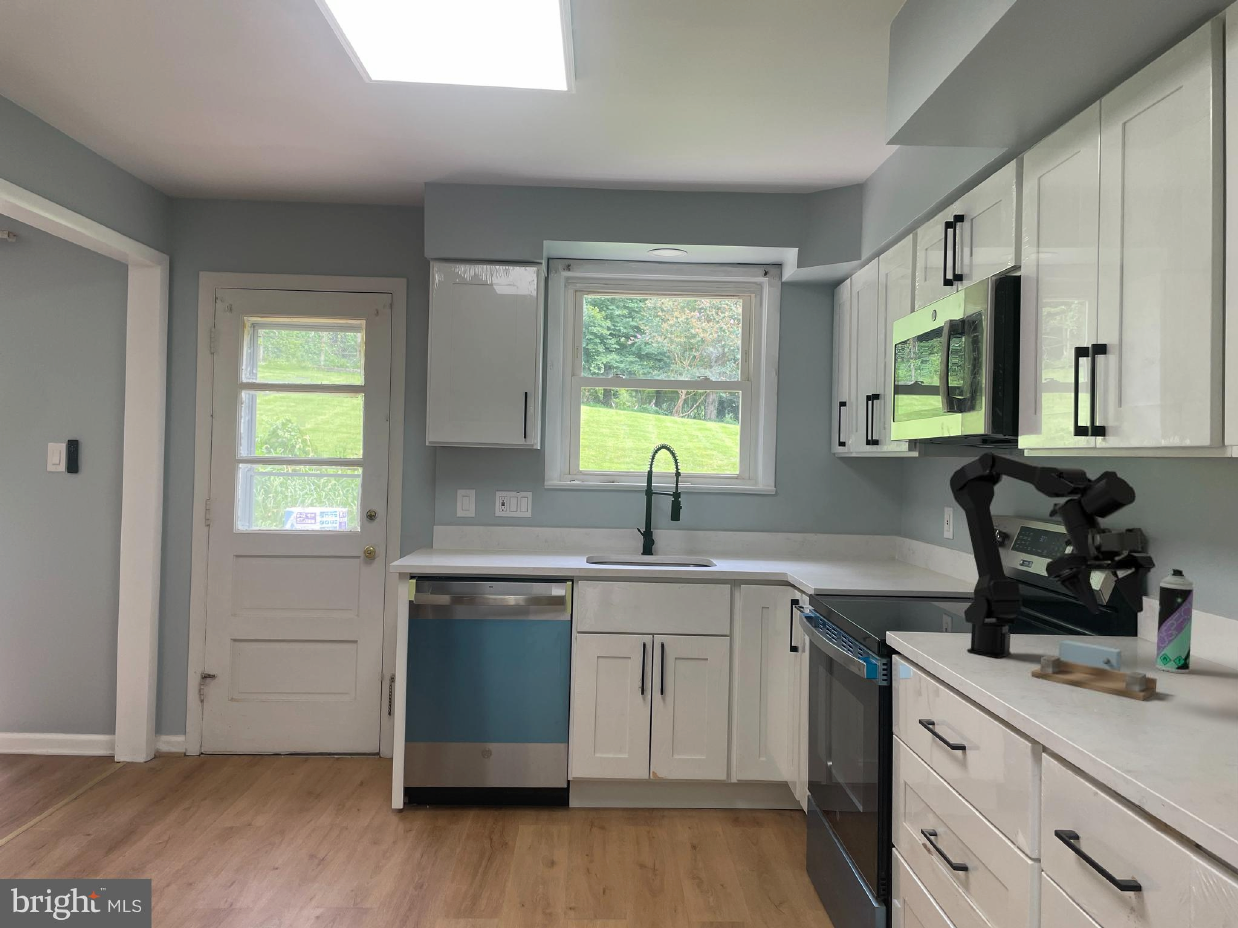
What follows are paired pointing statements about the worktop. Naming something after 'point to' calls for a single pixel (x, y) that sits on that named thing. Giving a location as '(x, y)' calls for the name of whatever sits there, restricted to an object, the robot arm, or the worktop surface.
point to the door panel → (1090, 655)
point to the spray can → (1174, 623)
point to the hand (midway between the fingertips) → (1118, 612)
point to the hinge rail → (1096, 678)
